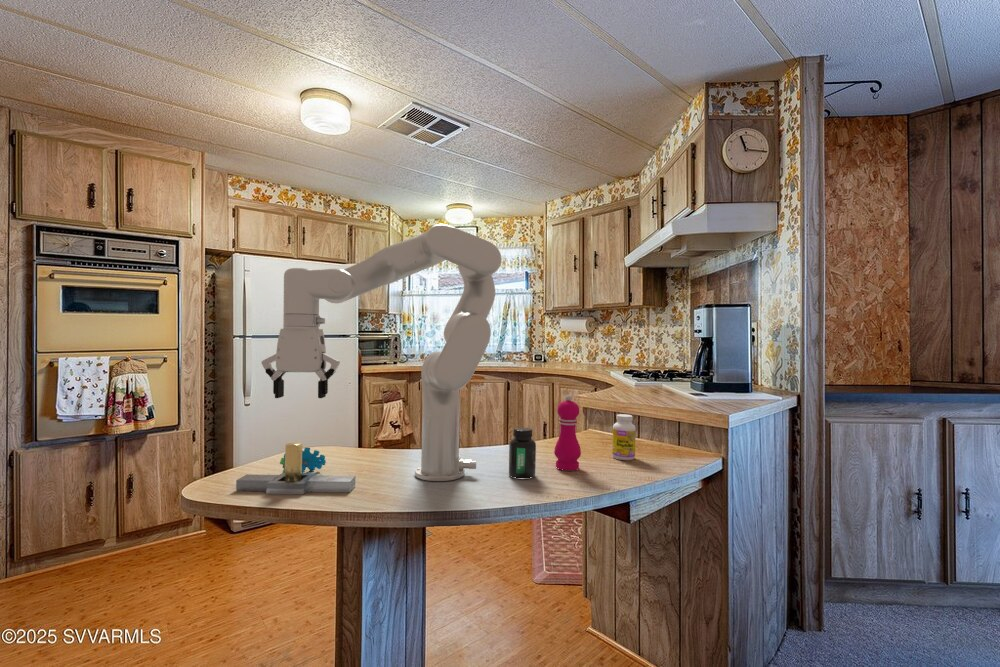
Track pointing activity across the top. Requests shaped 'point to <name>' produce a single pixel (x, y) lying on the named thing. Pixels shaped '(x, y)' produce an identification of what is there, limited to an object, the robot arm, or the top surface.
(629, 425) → the supplement bottle
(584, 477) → the top surface
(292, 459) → the gold square peg
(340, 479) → the grey base plate
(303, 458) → the gear
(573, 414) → the pepper mill
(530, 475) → the supplement bottle
